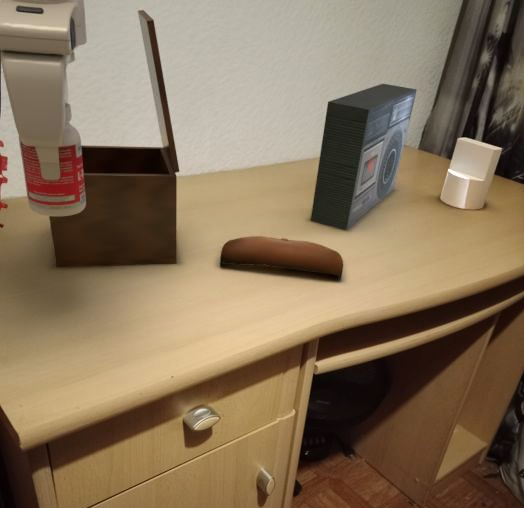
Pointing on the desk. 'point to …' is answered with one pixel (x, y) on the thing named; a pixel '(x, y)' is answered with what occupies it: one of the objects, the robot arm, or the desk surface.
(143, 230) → the box
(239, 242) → the sunglasses case
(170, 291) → the desk surface
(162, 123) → the box lid
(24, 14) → the robot arm
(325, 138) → the cassette player
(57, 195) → the pill bottle
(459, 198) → the base with upright slab
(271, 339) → the desk surface
